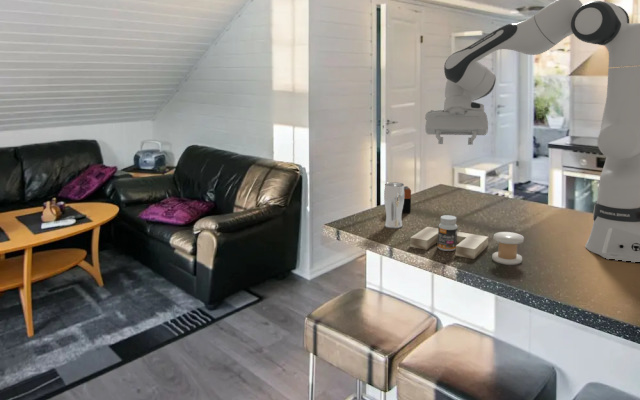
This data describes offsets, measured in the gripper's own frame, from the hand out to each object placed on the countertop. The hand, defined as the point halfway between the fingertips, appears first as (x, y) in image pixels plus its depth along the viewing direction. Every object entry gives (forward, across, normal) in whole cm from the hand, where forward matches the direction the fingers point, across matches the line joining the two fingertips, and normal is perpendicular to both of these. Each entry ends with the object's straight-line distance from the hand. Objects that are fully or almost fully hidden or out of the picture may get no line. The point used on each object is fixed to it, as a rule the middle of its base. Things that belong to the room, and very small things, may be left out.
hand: (455, 143), depth 166 cm
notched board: (+34, 0, +8) cm, 35 cm away
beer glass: (+22, -20, +20) cm, 36 cm away
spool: (+39, +16, +2) cm, 43 cm away
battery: (+8, -19, +34) cm, 40 cm away
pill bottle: (+35, -1, +7) cm, 36 cm away
